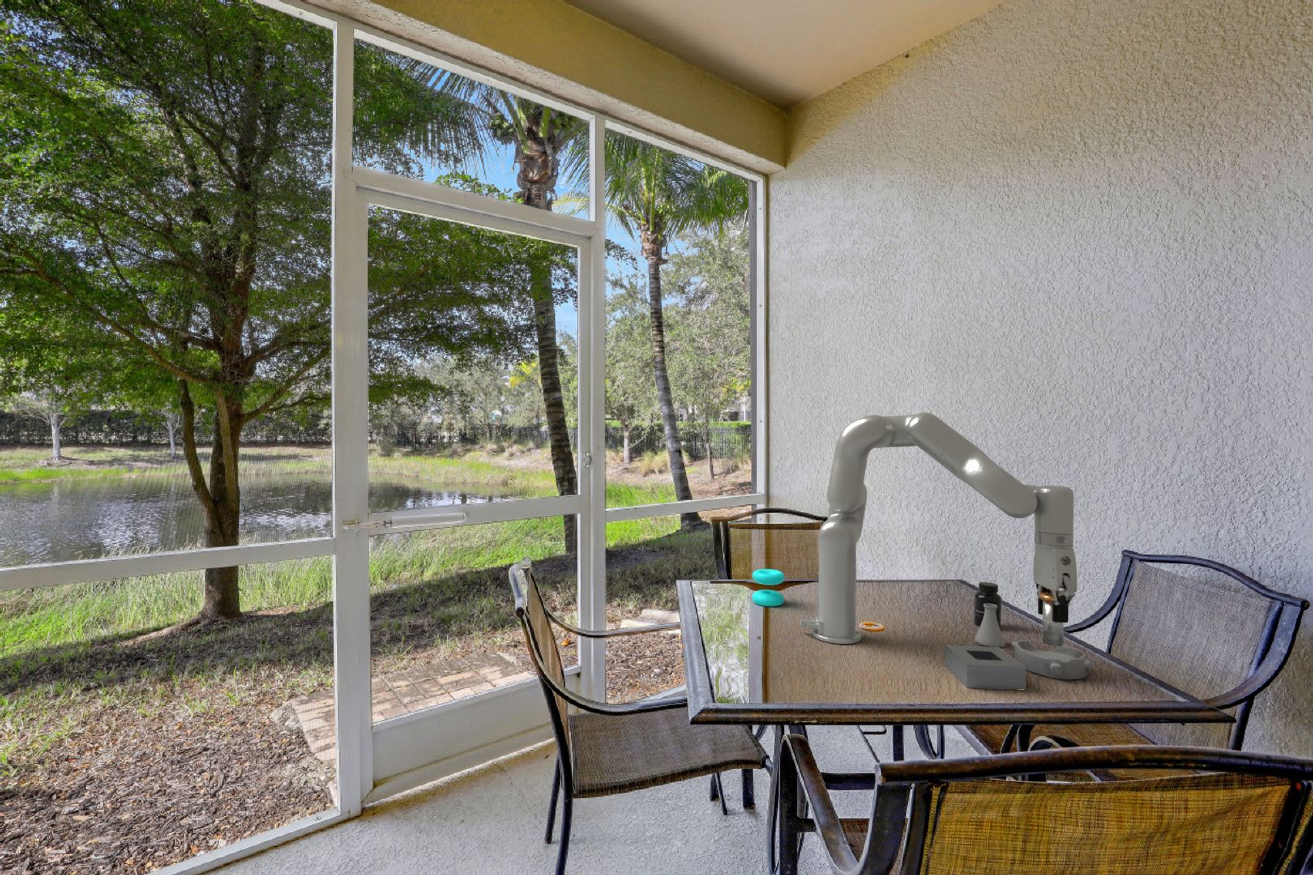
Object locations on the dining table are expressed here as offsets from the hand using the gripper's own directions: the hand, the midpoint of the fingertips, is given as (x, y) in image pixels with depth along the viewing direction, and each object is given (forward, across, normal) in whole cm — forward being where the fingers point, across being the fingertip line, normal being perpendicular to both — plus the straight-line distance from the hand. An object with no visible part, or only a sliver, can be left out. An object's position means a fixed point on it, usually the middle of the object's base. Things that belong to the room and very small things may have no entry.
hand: (1052, 617), depth 140 cm
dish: (+13, 0, 0) cm, 13 cm away
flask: (+12, +17, +6) cm, 22 cm away
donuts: (+12, +47, +60) cm, 77 cm away
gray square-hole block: (+12, -7, +18) cm, 23 cm away
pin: (+6, 0, 0) cm, 6 cm away
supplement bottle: (+12, +32, 0) cm, 34 cm away
